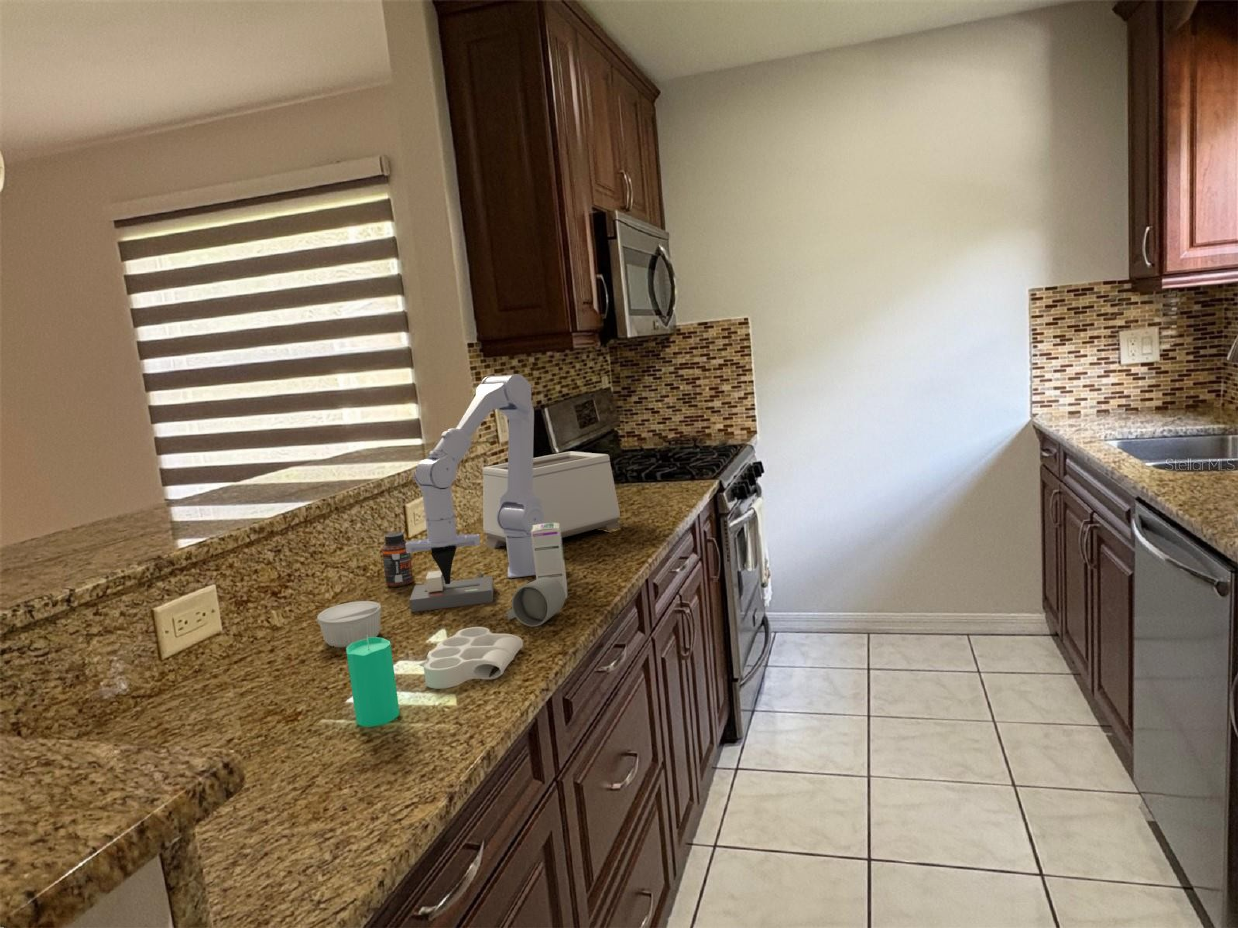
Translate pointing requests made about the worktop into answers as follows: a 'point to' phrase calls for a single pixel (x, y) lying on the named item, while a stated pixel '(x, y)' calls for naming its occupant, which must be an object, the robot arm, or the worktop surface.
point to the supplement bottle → (396, 561)
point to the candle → (372, 681)
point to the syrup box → (549, 552)
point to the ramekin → (350, 622)
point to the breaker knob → (435, 581)
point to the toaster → (559, 494)
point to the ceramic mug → (537, 601)
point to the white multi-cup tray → (469, 657)
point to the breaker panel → (453, 594)
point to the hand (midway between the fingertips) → (447, 582)
